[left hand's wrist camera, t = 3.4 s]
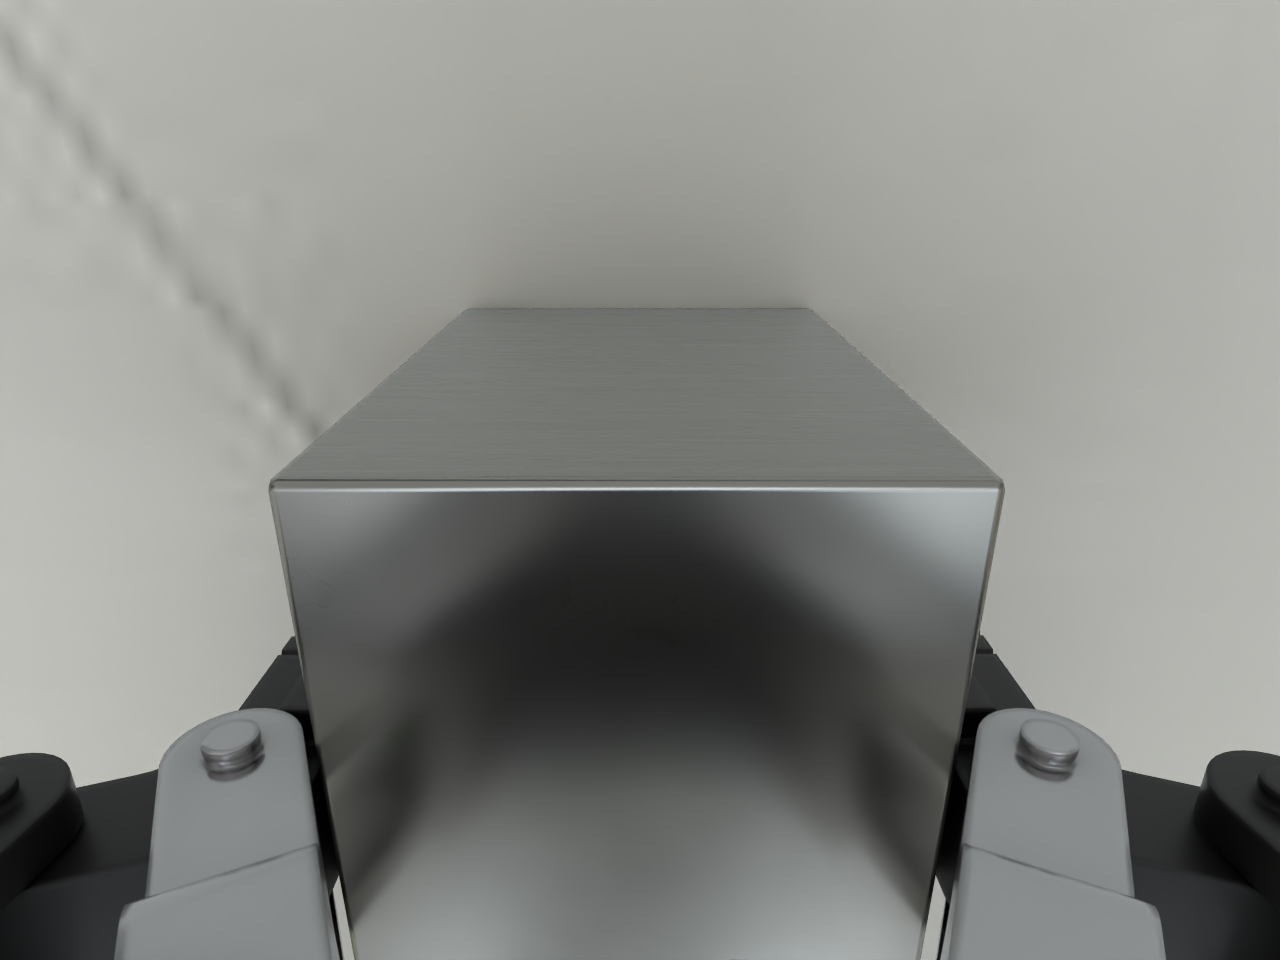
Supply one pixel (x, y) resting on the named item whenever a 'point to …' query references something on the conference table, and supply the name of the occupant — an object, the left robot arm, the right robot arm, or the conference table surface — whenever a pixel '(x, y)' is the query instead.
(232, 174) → the conference table surface
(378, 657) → the bar
